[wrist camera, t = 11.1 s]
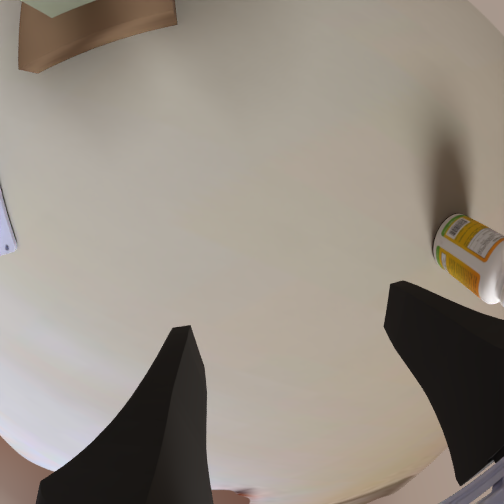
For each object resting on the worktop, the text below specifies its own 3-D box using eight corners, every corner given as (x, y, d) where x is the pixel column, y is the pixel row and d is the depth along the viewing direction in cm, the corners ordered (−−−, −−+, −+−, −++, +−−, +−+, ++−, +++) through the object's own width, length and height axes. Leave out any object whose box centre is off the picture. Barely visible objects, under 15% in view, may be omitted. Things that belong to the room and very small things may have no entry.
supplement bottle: (457, 268, 24) (522, 320, 15) (423, 264, 23) (496, 325, 14) (474, 217, 22) (548, 260, 13) (442, 206, 21) (528, 254, 12)
